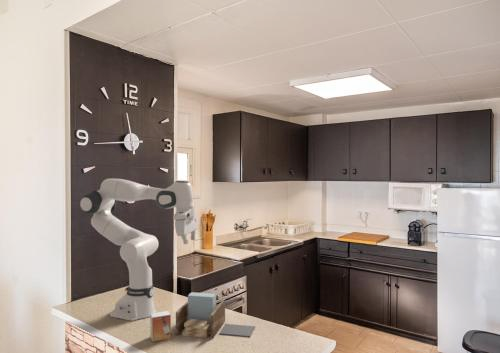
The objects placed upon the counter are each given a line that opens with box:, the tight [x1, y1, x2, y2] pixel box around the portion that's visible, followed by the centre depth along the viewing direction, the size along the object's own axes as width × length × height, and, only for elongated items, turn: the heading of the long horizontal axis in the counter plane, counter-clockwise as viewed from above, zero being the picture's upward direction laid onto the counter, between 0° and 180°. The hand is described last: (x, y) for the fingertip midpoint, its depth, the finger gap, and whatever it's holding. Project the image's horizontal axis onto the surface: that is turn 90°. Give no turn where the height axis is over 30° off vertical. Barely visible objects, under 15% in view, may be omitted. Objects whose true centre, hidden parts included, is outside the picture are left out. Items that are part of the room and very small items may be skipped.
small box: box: [149, 310, 172, 343], centre depth 158 cm, size 8×6×10 cm
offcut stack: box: [182, 319, 211, 338], centre depth 162 cm, size 11×6×5 cm, turn 77°
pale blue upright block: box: [187, 292, 217, 324], centre depth 168 cm, size 12×4×15 cm, turn 77°
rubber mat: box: [218, 323, 256, 338], centre depth 164 cm, size 14×10×1 cm
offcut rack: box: [175, 299, 226, 339], centre depth 167 cm, size 17×18×10 cm
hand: (189, 241), depth 177 cm, fingers open, 8 cm apart
